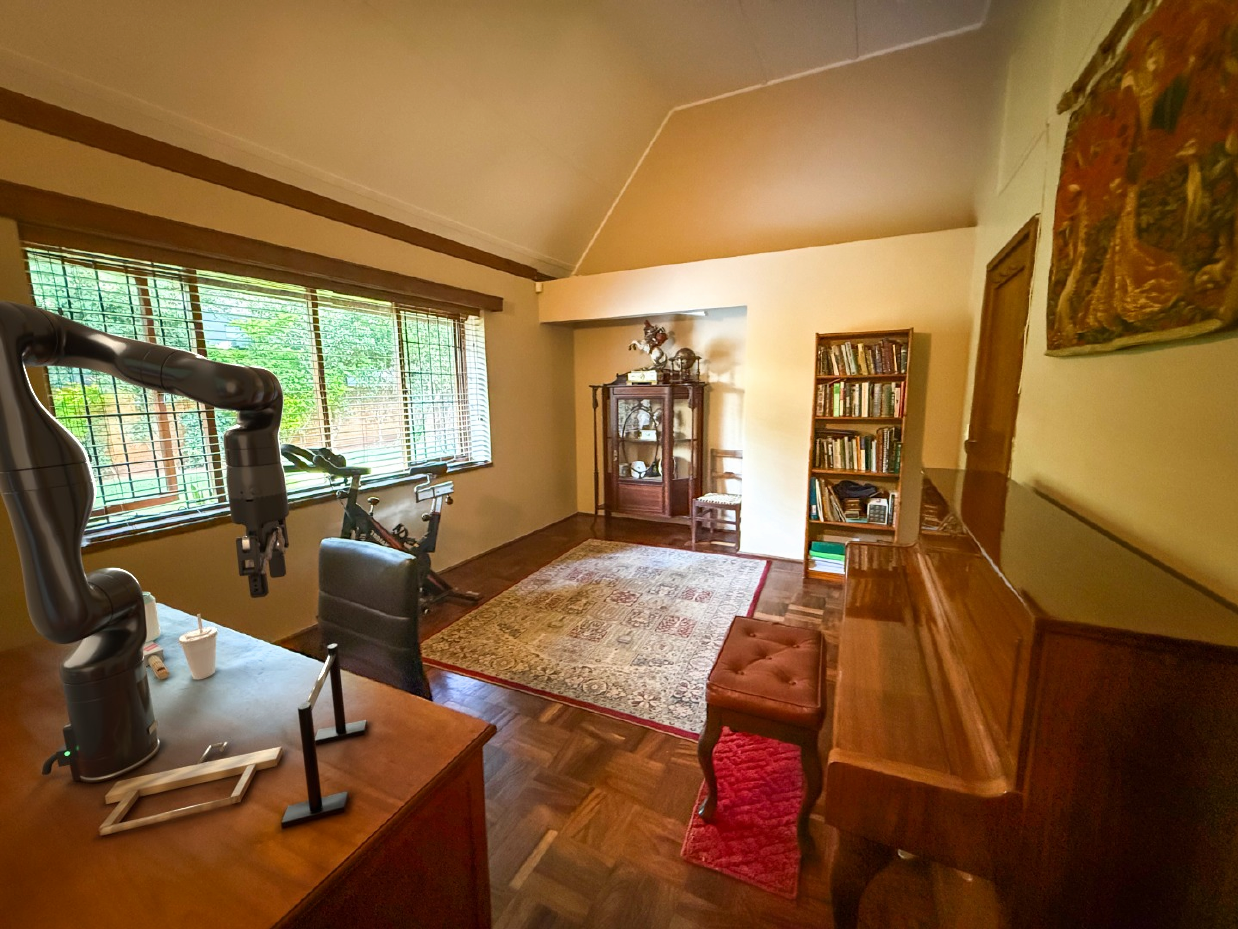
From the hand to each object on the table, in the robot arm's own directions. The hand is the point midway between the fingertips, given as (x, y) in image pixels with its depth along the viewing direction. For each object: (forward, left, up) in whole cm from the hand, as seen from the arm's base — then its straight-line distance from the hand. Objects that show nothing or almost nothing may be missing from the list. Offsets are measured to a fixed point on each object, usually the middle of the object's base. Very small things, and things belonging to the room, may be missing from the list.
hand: (269, 586), depth 78 cm
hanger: (-12, -11, -29) cm, 34 cm away
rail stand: (+8, -8, -30) cm, 32 cm away
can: (-47, +55, -30) cm, 78 cm away
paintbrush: (-38, +41, -30) cm, 64 cm away
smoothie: (-25, +32, -30) cm, 51 cm away
